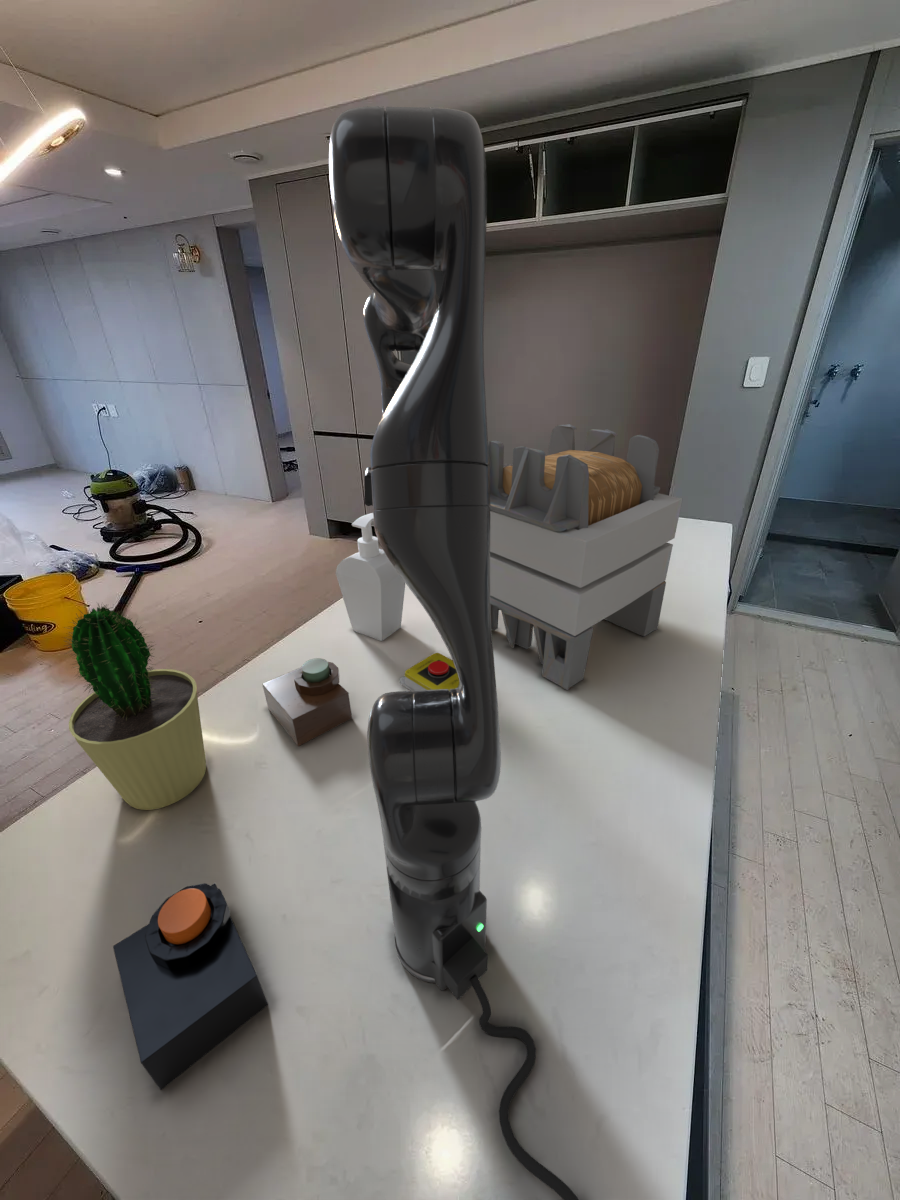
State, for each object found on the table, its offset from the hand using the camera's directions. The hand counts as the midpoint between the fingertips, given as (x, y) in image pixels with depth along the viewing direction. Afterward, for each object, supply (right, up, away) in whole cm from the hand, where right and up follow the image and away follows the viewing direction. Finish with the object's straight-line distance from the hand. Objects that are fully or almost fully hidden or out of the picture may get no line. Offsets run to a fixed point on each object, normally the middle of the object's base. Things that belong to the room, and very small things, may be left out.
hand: (408, 524), depth 90 cm
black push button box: (-19, -53, -38) cm, 68 cm away
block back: (-17, -33, -1) cm, 37 cm away
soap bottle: (-8, -20, +24) cm, 32 cm away
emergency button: (+6, -30, +4) cm, 31 cm away
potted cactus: (-35, -40, -13) cm, 55 cm away
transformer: (+30, -19, +23) cm, 42 cm away
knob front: (-19, -46, -39) cm, 63 cm away
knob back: (-15, -26, -3) cm, 31 cm away
